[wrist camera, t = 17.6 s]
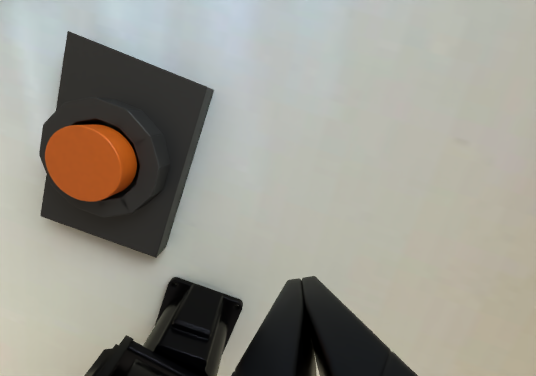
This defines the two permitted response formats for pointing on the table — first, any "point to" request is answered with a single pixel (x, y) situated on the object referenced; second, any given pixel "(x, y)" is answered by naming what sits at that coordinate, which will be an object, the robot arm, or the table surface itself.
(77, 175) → the orange push button
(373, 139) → the table surface
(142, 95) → the push button base
